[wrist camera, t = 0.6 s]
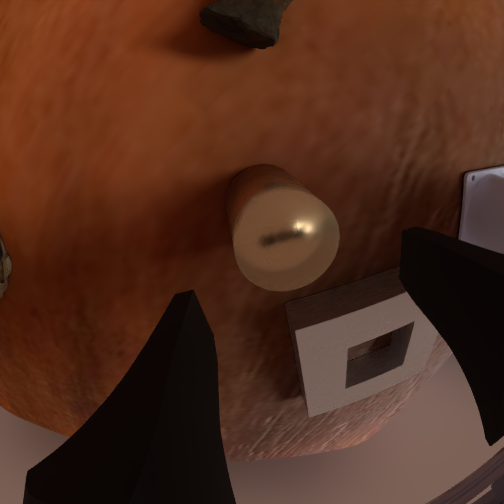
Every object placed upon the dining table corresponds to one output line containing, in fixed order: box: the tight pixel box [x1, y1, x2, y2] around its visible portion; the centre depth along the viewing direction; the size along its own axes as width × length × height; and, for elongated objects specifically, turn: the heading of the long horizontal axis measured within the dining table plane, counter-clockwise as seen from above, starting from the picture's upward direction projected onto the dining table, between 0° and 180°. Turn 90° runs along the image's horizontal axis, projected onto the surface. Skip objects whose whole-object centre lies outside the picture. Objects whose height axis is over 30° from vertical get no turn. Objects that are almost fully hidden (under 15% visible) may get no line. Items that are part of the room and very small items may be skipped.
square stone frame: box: [285, 266, 438, 417], centre depth 22 cm, size 14×14×3 cm
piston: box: [226, 164, 340, 291], centre depth 14 cm, size 4×4×6 cm
